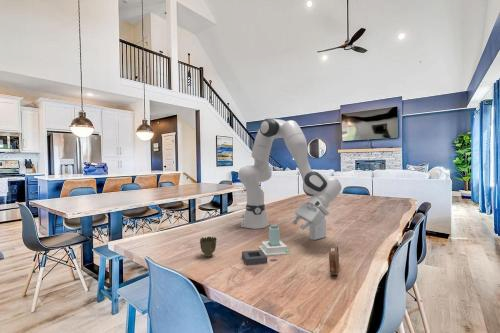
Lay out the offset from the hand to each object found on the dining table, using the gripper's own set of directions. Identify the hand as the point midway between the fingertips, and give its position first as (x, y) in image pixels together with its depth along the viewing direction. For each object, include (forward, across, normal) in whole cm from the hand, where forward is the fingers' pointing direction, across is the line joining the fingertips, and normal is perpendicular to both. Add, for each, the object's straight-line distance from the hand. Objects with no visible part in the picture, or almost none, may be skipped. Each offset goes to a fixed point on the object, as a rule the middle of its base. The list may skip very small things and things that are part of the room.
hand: (297, 226), depth 126 cm
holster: (+25, +10, -9) cm, 28 cm away
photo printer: (-4, -11, +20) cm, 23 cm away
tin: (+5, +27, +10) cm, 29 cm away
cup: (+38, +1, -22) cm, 45 cm away
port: (+16, +1, -1) cm, 16 cm away
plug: (+16, 0, -1) cm, 16 cm away
